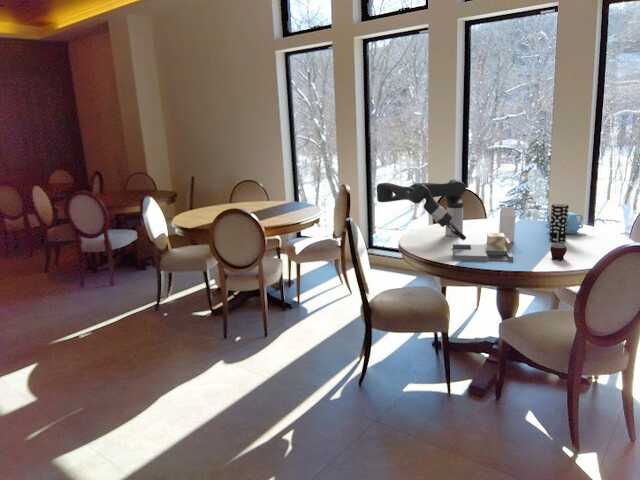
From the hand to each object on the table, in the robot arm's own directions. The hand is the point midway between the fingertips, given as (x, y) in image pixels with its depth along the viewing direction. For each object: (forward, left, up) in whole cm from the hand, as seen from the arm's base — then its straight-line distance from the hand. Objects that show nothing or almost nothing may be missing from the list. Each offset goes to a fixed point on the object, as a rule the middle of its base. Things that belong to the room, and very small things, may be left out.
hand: (464, 238), depth 261 cm
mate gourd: (+44, +5, -7) cm, 45 cm away
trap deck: (+9, -2, -7) cm, 12 cm away
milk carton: (+13, +33, -7) cm, 37 cm away
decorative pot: (+38, +65, -7) cm, 76 cm away
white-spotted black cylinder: (+38, +43, -7) cm, 58 cm away
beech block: (+15, +5, -4) cm, 16 cm away
